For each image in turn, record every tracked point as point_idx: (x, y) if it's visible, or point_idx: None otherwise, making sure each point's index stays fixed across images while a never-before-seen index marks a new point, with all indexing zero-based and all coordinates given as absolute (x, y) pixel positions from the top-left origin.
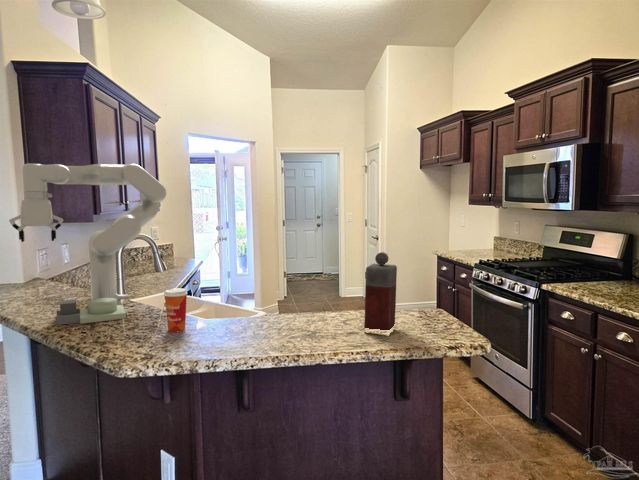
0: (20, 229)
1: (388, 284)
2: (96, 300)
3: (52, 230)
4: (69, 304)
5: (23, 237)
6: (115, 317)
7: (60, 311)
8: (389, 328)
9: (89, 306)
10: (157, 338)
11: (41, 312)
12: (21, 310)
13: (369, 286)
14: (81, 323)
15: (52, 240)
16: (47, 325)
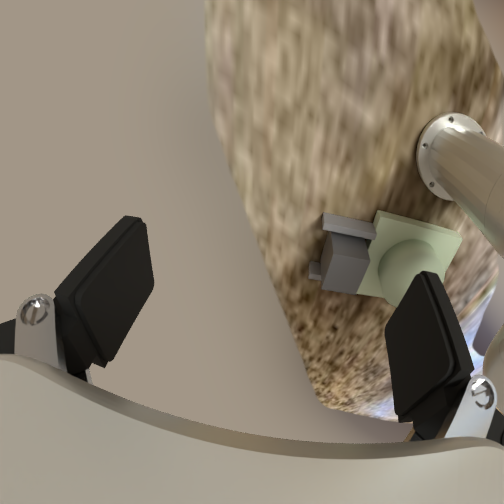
0: (75, 370)
1: None
2: (408, 273)
3: (417, 414)
4: (341, 290)
5: (137, 312)
6: None
7: (321, 276)
8: None
9: (381, 287)
10: (386, 379)
11: (297, 121)
12: (246, 61)
13: None
14: None
15: (389, 331)
16: (293, 259)
